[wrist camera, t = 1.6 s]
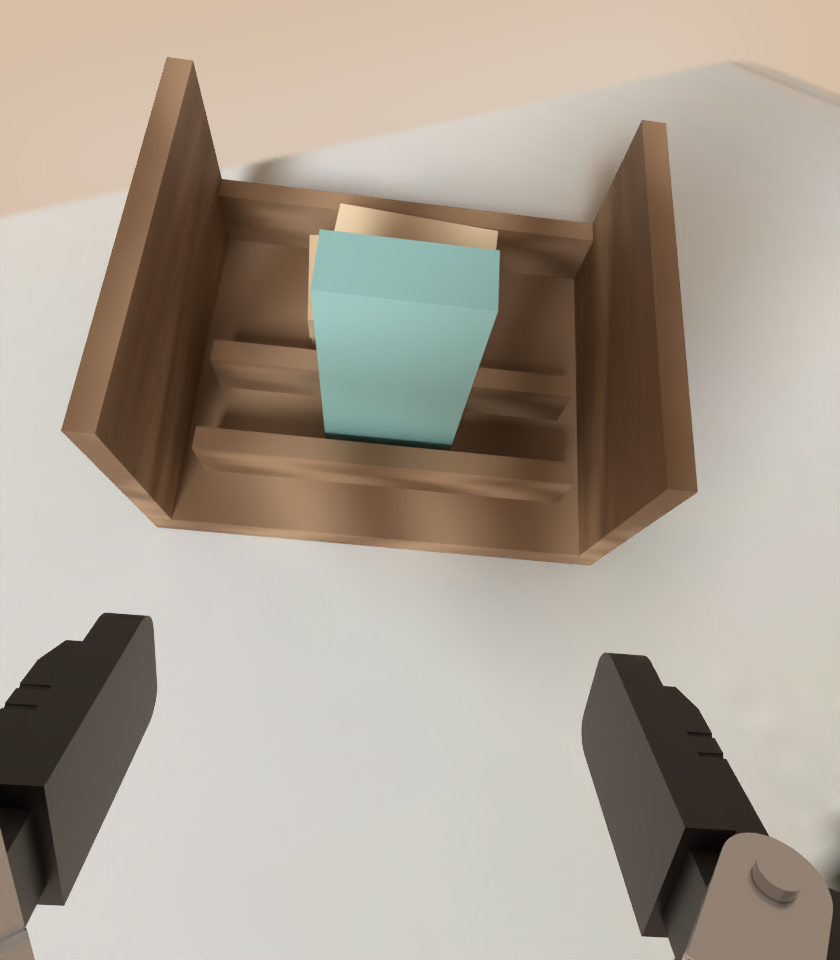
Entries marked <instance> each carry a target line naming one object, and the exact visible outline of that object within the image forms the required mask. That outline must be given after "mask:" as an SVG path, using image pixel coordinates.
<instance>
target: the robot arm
mask: <svg viewBox="0 0 840 960" xmlns="http://www.w3.org/2000/svg"><path fill="white" fill-rule="evenodd" d="M156 694H157V676H156V660H155V645H154V629H153V622H152V619H151V617H149V616H142V615H129V614H116V613H104V614H102V615H101V616H100V617H99V618H98V620H97V621H96V623H95V624H94V626H93V627H92V628H91V630H90V631H89V633H88V634H87V636H86V637H85V639H84V640H83V641H71V640H66V641H64V642H63V643H61V644H60V645H59V646H57V647H56V648H54V649H53V650H51V651H50V652H48V653H47V654H45V655H44V656H43V657H41V658H40V659H38V660H37V662H36V663H35V664H34V666H33V667H32V668H31V670H30V671H29V672H28V674H27V675H26V676H25V678H24V679H23V680H22V681H21V683H20V687H19V688H16V689H15V691H14V692H13V693H12V695H11V696H10V697H9V699H8V700H7V701H6V703H5V707H4V708H1V709H0V960H35V959H34V955H33V951H32V948H31V944H30V940H29V936H28V932H27V929H26V928H25V927H26V925H27V923H28V921H29V919H30V917H31V915H32V913H33V911H34V909H35V907H36V905H37V904H40V905H61V906H64V905H65V903H66V900H67V898H68V896H69V894H70V892H71V890H72V888H73V885H74V883H75V881H76V879H77V877H78V875H79V873H80V870H81V868H82V866H83V864H84V862H85V860H86V858H87V855H88V853H89V851H90V849H91V847H92V845H93V843H94V840H95V838H96V836H97V834H98V832H99V830H100V828H101V825H102V823H103V821H104V819H105V817H106V815H107V813H108V810H109V808H110V806H111V804H112V802H113V800H114V798H115V795H116V793H117V791H118V789H119V787H120V785H121V783H122V780H123V778H124V776H125V774H126V772H127V770H128V768H129V765H130V763H131V761H132V759H133V757H134V755H135V752H136V750H137V748H138V746H139V744H140V742H141V740H142V737H143V735H144V733H145V731H146V729H147V727H148V725H149V722H150V720H151V717H152V714H153V710H154V706H155V701H156ZM582 745H583V750H584V754H585V757H586V761H587V764H588V767H589V770H590V773H591V777H592V780H593V783H594V786H595V789H596V792H597V796H598V799H599V802H600V805H601V808H602V812H603V815H604V818H605V821H606V824H607V827H608V831H609V834H610V837H611V840H612V843H613V847H614V850H615V853H616V856H617V859H618V862H619V866H620V869H621V872H622V875H623V878H624V882H625V885H626V888H627V891H628V894H629V897H630V901H631V904H632V907H633V910H634V913H635V917H636V920H637V923H638V926H639V929H640V932H641V936H647V937H667V938H669V941H670V944H671V947H672V950H673V953H674V955H675V956H674V959H673V960H840V892H837V891H835V890H832V889H830V888H828V887H827V885H826V884H825V882H824V880H823V878H822V877H821V876H820V874H819V873H818V872H817V870H816V869H815V868H814V867H813V866H812V865H811V864H810V863H809V862H808V861H807V860H806V859H805V858H804V857H803V856H802V855H800V854H799V853H798V852H796V851H795V850H794V849H792V848H791V847H789V846H788V845H786V844H784V843H782V842H780V841H778V840H776V839H774V838H771V837H769V835H768V833H767V832H766V830H765V828H764V826H763V824H762V823H761V821H760V819H759V817H758V815H757V814H756V812H755V810H754V808H753V806H752V805H751V803H750V801H749V799H748V797H747V796H746V794H745V792H744V790H743V788H742V787H741V785H740V783H739V781H738V779H737V778H736V776H735V774H734V772H733V770H732V769H731V767H730V765H729V763H728V761H727V760H726V759H724V758H723V752H722V751H721V749H720V747H719V745H718V743H717V742H716V740H715V738H712V733H711V731H710V729H709V727H708V725H707V724H706V722H705V720H704V718H703V716H702V715H701V713H700V711H699V709H698V708H697V707H696V706H695V705H694V704H693V703H692V702H691V701H690V700H689V699H687V698H686V697H685V696H684V695H683V694H682V693H681V692H680V691H679V690H678V689H677V688H676V687H669V686H663V685H662V683H661V681H660V679H659V677H658V675H657V673H656V671H655V669H654V667H653V665H652V663H651V661H650V660H649V659H648V657H646V656H641V655H628V654H615V653H604V654H602V656H601V657H600V659H599V662H598V665H597V669H596V672H595V676H594V679H593V683H592V686H591V690H590V694H589V697H588V701H587V704H586V708H585V711H584V715H583V720H582Z"/></svg>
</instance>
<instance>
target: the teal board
mask: <svg viewBox="0 0 840 960" xmlns="http://www.w3.org/2000/svg"><path fill="white" fill-rule="evenodd" d="M499 262H500V250H491V249H483V248H474V247H466V246H458V245H449V244H441V243H432V242H424V241H415V240H407V239H398V238H390V237H381V236H373V235H364V234H356V233H347V232H339V231H330V230H322V229H320V230H319V237H318V244H317V250H316V257H315V264H314V271H313V277H312V284H311V299H312V309H313V319H314V329H315V339H316V349H317V359H318V369H319V379H320V389H321V399H322V408H323V418H324V428H325V438H326V439H333V440H343V441H353V442H364V443H374V444H384V445H394V446H404V447H415V448H425V449H435V450H445V451H450V448H451V445H452V443H453V440H454V437H455V434H456V431H457V428H458V425H459V422H460V419H461V417H462V414H463V411H464V408H465V405H466V402H467V399H468V396H469V394H470V391H471V388H472V385H473V382H474V379H475V376H476V373H477V370H478V368H479V365H480V362H481V359H482V356H483V353H484V350H485V347H486V344H487V342H488V339H489V336H490V333H491V330H492V327H493V324H494V321H495V319H496V316H497V313H498V296H499Z"/></svg>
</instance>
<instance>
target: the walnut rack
mask: <svg viewBox="0 0 840 960" xmlns="http://www.w3.org/2000/svg"><path fill="white" fill-rule="evenodd" d="M340 203H342V204H348V205H353V206H359V207H365V208H370V209H376V210H382V211H387V212H393V213H399V214H404V215H410V216H416V217H421V218H427V219H433V220H438V221H444V222H449V223H455V224H461V225H466V226H472V227H478V228H483V229H489V230H495V231H498V237H497V246H496V250H500V262H499V296H498V313H497V316H496V319H495V321H494V324H493V327H492V330H491V333H490V336H489V339H488V342H487V344H486V347H485V350H484V353H483V356H482V359H481V362H480V365H479V368H478V370H477V373H476V376H475V379H474V382H473V385H472V388H471V391H470V394H469V396H468V399H467V402H466V405H465V408H464V411H463V414H462V417H461V419H460V422H459V425H458V428H457V431H456V434H455V437H454V440H453V443H452V445H451V448H450V451H445V450H435V449H425V448H415V447H404V446H394V445H384V444H374V443H364V442H353V441H343V440H333V439H326V438H325V428H324V418H323V408H322V399H321V389H320V379H319V369H318V359H317V350H313V346H312V338H310V335H309V327H308V285H309V243H310V235H319V230H320V229H322V230H330V231H334V230H335V225H336V221H337V217H338V212H339V208H340ZM61 431H62V432H63V433H64V434H65V435H66V436H67V437H68V438H69V439H70V440H71V441H72V442H73V443H74V444H75V445H76V446H77V447H78V448H79V449H80V450H81V451H82V452H83V453H84V454H85V455H86V456H87V457H88V458H89V459H90V460H91V461H92V462H93V463H94V464H95V465H96V466H97V467H98V468H99V469H100V470H101V471H102V472H103V473H104V474H105V475H106V476H107V477H108V478H109V479H110V480H111V481H112V482H113V483H114V484H115V485H116V486H117V487H118V488H119V489H120V490H121V491H122V492H123V493H124V494H125V495H126V496H127V497H128V498H129V499H130V500H131V501H132V502H133V503H134V504H135V505H136V506H137V507H138V508H139V509H140V510H141V511H142V512H143V513H144V514H145V515H146V516H147V517H148V518H149V519H150V520H151V521H152V522H153V523H154V524H155V525H156V526H157V527H162V528H173V529H185V530H196V531H207V532H218V533H230V534H241V535H252V536H264V537H275V538H286V539H298V540H309V541H320V542H332V543H343V544H354V545H366V546H377V547H388V548H400V549H411V550H422V551H433V552H445V553H456V554H467V555H479V556H490V557H501V558H513V559H524V560H535V561H547V562H558V563H569V564H581V565H591V564H593V563H594V562H595V561H597V560H598V559H600V558H601V557H603V556H604V555H606V554H607V553H609V552H610V551H612V550H613V549H615V548H616V547H618V546H619V545H620V544H622V543H623V542H625V541H626V540H628V539H629V538H631V537H632V536H634V535H635V534H637V533H638V532H640V531H641V530H643V529H644V528H645V527H647V526H648V525H650V524H651V523H653V522H654V521H656V520H657V519H659V518H660V517H662V516H663V515H665V514H666V513H668V512H669V511H670V510H672V509H673V508H675V507H676V506H678V505H679V504H681V503H682V502H684V501H685V500H687V499H688V498H690V497H691V496H693V495H694V494H696V493H697V492H698V491H697V479H696V468H695V456H694V444H693V433H692V421H691V409H690V398H689V386H688V375H687V363H686V351H685V340H684V328H683V317H682V305H681V293H680V282H679V270H678V259H677V247H676V235H675V224H674V212H673V200H672V189H671V177H670V166H669V154H668V142H667V131H666V123H660V122H652V121H645V120H642V121H641V123H640V125H639V128H638V130H637V132H636V134H635V136H634V138H633V140H632V142H631V144H630V147H629V149H628V151H627V153H626V155H625V157H624V159H623V161H622V163H621V165H620V168H619V170H618V172H617V174H616V176H615V178H614V180H613V182H612V184H611V186H610V189H609V191H608V193H607V195H606V197H605V199H604V201H603V203H602V205H601V208H600V210H599V212H598V214H597V216H596V218H595V220H594V222H593V224H587V223H579V222H570V221H562V220H554V219H546V218H537V217H529V216H521V215H513V214H505V213H496V212H488V211H480V210H472V209H463V208H455V207H447V206H439V205H431V204H422V203H414V202H406V201H398V200H390V199H381V198H373V197H365V196H357V195H348V194H340V193H332V192H324V191H316V190H307V189H299V188H291V187H283V186H274V185H266V184H258V183H250V182H242V181H233V180H225V179H222V178H221V174H220V170H219V166H218V162H217V158H216V153H215V149H214V145H213V141H212V137H211V133H210V129H209V125H208V121H207V116H206V112H205V108H204V104H203V100H202V96H201V92H200V88H199V83H198V79H197V76H196V71H195V67H194V63H193V61H192V60H184V59H176V58H169V57H167V59H166V62H165V66H164V69H163V73H162V76H161V80H160V84H159V87H158V90H157V94H156V98H155V101H154V105H153V108H152V112H151V115H150V119H149V122H148V126H147V130H146V133H145V136H144V140H143V144H142V147H141V150H140V154H139V157H138V161H137V165H136V168H135V172H134V175H133V179H132V182H131V186H130V189H129V193H128V196H127V200H126V203H125V207H124V210H123V214H122V218H121V221H120V225H119V228H118V232H117V235H116V239H115V242H114V246H113V249H112V253H111V256H110V260H109V263H108V267H107V271H106V274H105V278H104V281H103V285H102V288H101V292H100V295H99V299H98V302H97V306H96V309H95V313H94V316H93V320H92V324H91V327H90V331H89V334H88V338H87V341H86V345H85V348H84V352H83V355H82V359H81V362H80V366H79V369H78V373H77V377H76V380H75V384H74V387H73V391H72V394H71V398H70V401H69V405H68V408H67V412H66V415H65V419H64V422H63V426H62V429H61Z"/></svg>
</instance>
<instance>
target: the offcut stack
mask: <svg viewBox="0 0 840 960" xmlns="http://www.w3.org/2000/svg"><path fill="white" fill-rule="evenodd" d="M334 231H339V232H347V233H356V234H364V235H373V236H381V237H390V238H398V239H407V240H415V241H424V242H432V243H441V244H449V245H458V246H466V247H474V248H483V249H491V250H496V246H497V237H498V231H495V230H489V229H483V228H478V227H472V226H466V225H461V224H455V223H449V222H444V221H438V220H433V219H427V218H421V217H416V216H410V215H404V214H399V213H393V212H387V211H382V210H376V209H370V208H365V207H359V206H353V205H348V204H342V203H340V208H339V212H338V217H337V221H336V225H335V230H334ZM318 237H319V235H310V243H309V285H308V327H309V335H310V338H312V346H313V350H317V349H316V339H315V329H314V319H313V309H312V299H311V284H312V277H313V271H314V264H315V257H316V250H317V244H318Z"/></svg>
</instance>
